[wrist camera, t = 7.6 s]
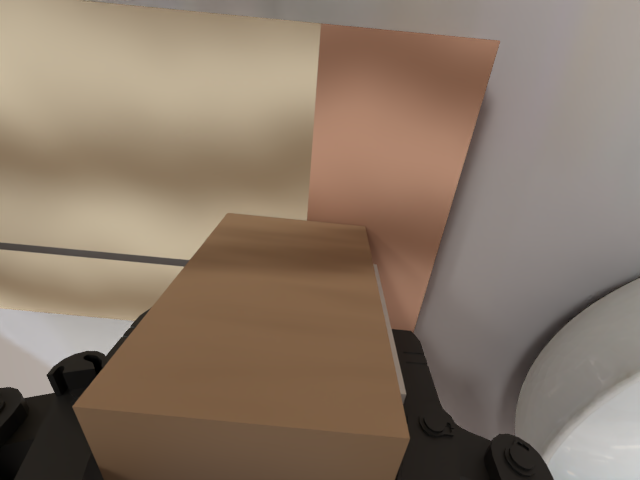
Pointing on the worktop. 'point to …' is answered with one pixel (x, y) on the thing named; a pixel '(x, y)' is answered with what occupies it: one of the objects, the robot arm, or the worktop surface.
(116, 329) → the worktop surface
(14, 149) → the maple board
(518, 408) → the serving bowl
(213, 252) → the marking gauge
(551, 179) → the worktop surface
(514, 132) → the worktop surface
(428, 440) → the robot arm
